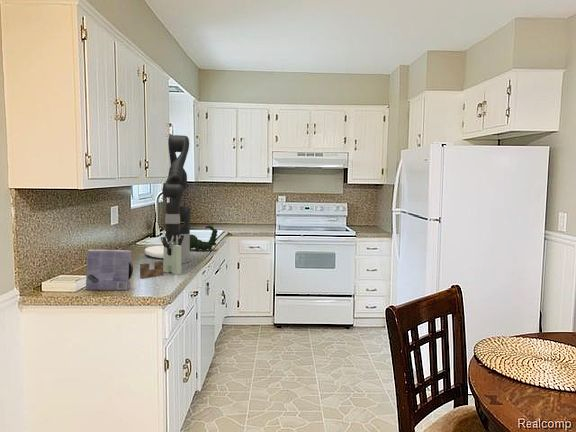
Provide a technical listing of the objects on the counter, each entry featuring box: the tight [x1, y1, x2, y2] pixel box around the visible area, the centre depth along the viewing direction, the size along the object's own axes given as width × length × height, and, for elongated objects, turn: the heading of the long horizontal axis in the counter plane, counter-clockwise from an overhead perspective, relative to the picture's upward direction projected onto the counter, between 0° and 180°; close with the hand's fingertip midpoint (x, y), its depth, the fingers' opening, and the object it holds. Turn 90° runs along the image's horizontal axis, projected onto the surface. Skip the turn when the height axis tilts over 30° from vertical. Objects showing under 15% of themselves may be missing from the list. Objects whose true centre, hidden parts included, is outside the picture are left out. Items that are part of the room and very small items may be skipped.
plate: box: [144, 245, 164, 259], centre depth 290 cm, size 28×6×27 cm
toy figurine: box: [190, 225, 218, 252], centre depth 313 cm, size 9×19×25 cm
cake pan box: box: [85, 248, 134, 291], centre depth 203 cm, size 19×5×18 cm, turn 99°
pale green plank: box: [162, 243, 182, 276], centre depth 240 cm, size 11×3×15 cm, turn 51°
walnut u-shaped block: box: [139, 260, 164, 279], centre depth 231 cm, size 12×2×7 cm, turn 141°
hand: (172, 254), depth 240 cm, fingers closed on pale green plank, 3 cm apart
